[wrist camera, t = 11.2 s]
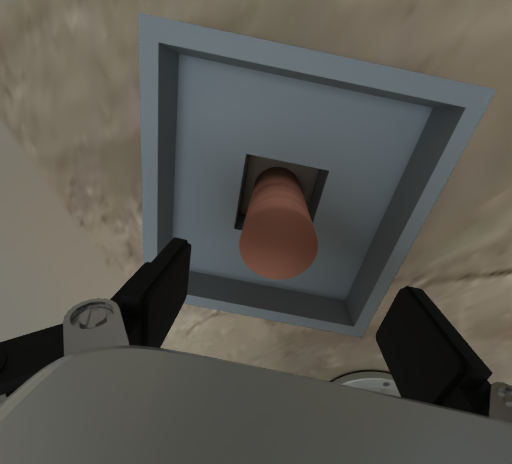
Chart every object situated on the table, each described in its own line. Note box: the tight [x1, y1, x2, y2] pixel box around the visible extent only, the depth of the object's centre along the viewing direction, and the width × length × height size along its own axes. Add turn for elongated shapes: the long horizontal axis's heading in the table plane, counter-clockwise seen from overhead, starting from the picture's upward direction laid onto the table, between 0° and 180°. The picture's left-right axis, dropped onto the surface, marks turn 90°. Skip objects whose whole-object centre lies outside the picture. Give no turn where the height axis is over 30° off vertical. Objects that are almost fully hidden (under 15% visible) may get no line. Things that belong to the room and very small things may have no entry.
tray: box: [138, 13, 497, 338], centre depth 19 cm, size 18×18×6 cm
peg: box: [239, 167, 318, 280], centre depth 17 cm, size 4×4×10 cm
